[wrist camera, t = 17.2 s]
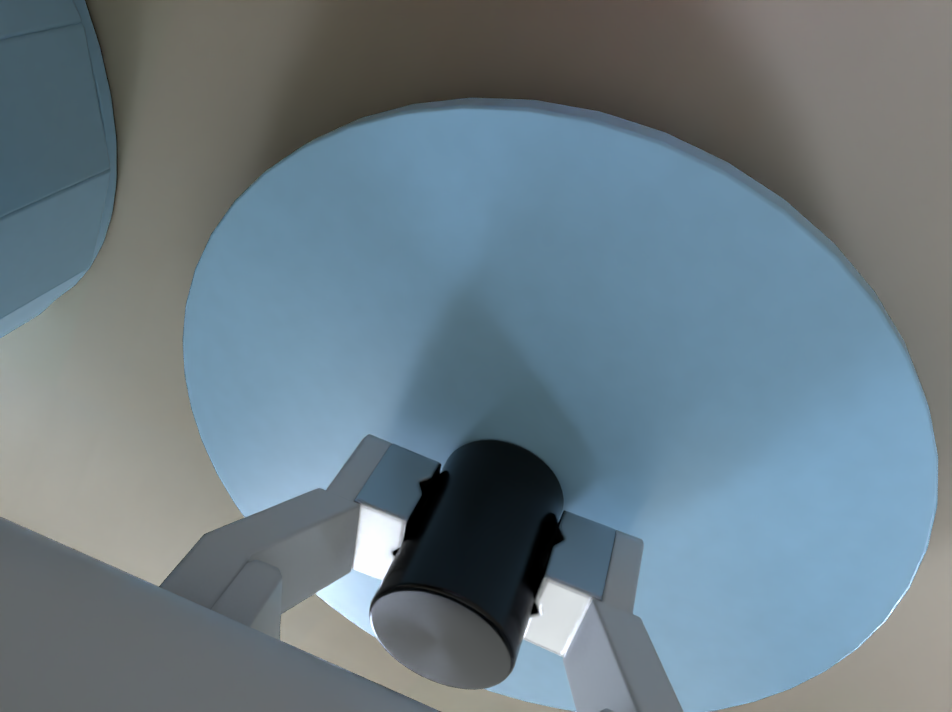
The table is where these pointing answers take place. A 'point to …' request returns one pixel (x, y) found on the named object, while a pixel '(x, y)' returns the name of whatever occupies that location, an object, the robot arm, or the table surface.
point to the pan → (51, 153)
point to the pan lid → (569, 389)
